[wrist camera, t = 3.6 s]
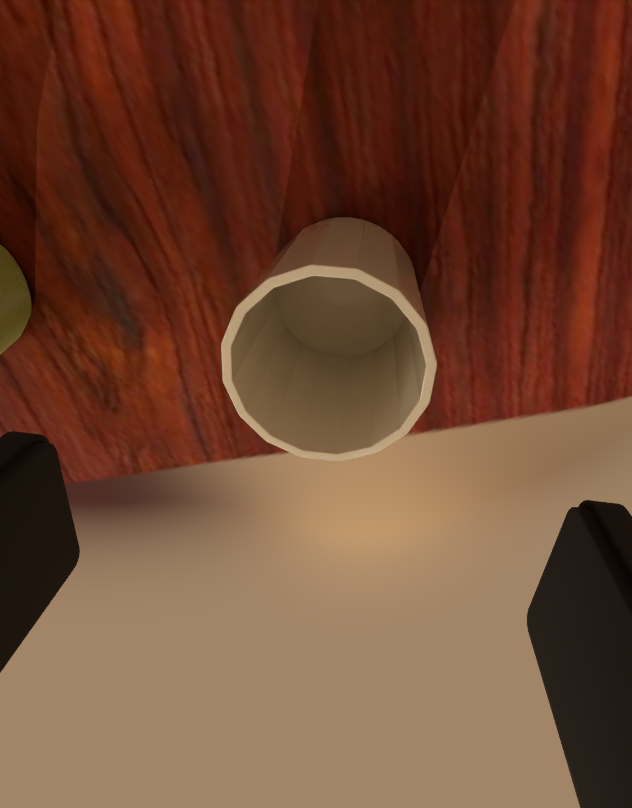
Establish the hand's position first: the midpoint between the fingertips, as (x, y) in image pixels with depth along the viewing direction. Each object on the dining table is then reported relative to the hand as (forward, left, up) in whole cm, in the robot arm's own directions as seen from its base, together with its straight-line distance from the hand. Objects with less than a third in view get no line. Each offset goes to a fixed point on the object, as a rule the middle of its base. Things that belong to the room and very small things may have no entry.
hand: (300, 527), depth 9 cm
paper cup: (0, 0, -14) cm, 14 cm away
